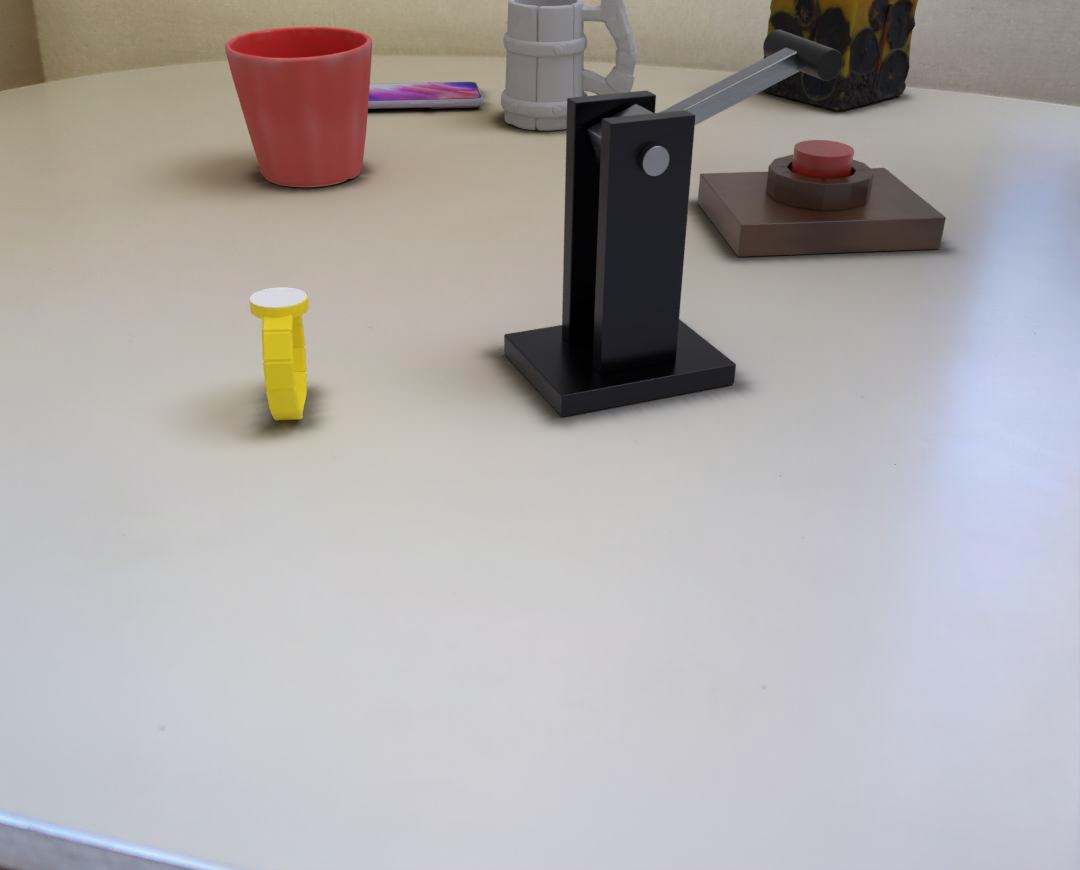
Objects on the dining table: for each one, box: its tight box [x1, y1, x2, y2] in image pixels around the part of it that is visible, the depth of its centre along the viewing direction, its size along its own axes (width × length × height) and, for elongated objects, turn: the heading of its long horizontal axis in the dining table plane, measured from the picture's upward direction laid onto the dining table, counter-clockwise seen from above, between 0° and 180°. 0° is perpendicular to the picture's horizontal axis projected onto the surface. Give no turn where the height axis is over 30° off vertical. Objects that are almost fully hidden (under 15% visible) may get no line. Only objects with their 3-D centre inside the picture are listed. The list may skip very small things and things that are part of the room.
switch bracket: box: [503, 90, 737, 417], centre depth 61 cm, size 10×8×14 cm
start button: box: [791, 139, 855, 179], centre depth 82 cm, size 4×4×2 cm
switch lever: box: [588, 30, 843, 168], centre depth 59 cm, size 12×5×2 cm, turn 113°
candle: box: [762, 0, 919, 111], centre depth 113 cm, size 10×10×10 cm
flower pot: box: [224, 26, 373, 188], centre depth 91 cm, size 11×11×10 cm
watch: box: [249, 286, 310, 421], centre depth 59 cm, size 6×3×6 cm, turn 5°
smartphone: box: [368, 81, 484, 110], centre depth 111 cm, size 7×1×15 cm
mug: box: [500, 0, 638, 132], centre depth 103 cm, size 8×12×12 cm, turn 81°
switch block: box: [697, 154, 947, 258], centre depth 84 cm, size 14×11×4 cm
